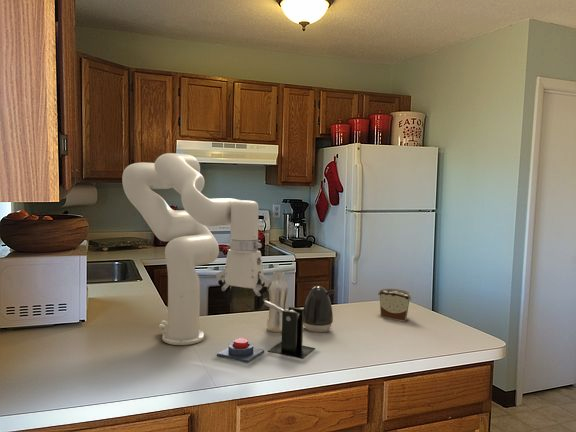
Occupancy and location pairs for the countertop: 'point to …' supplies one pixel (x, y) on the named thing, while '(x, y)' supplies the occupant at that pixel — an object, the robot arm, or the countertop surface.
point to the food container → (394, 303)
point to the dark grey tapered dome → (318, 310)
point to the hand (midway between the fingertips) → (242, 306)
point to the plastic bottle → (277, 301)
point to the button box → (241, 353)
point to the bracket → (292, 335)
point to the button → (241, 343)
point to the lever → (277, 308)
